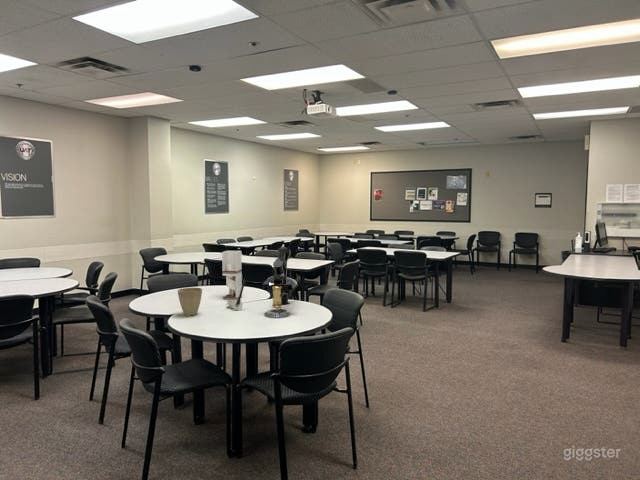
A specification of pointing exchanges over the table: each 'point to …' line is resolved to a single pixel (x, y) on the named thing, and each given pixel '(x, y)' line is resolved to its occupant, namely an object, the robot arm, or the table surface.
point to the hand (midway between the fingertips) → (276, 297)
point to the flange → (276, 313)
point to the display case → (232, 273)
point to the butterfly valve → (237, 303)
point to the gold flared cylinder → (276, 296)
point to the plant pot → (190, 300)
